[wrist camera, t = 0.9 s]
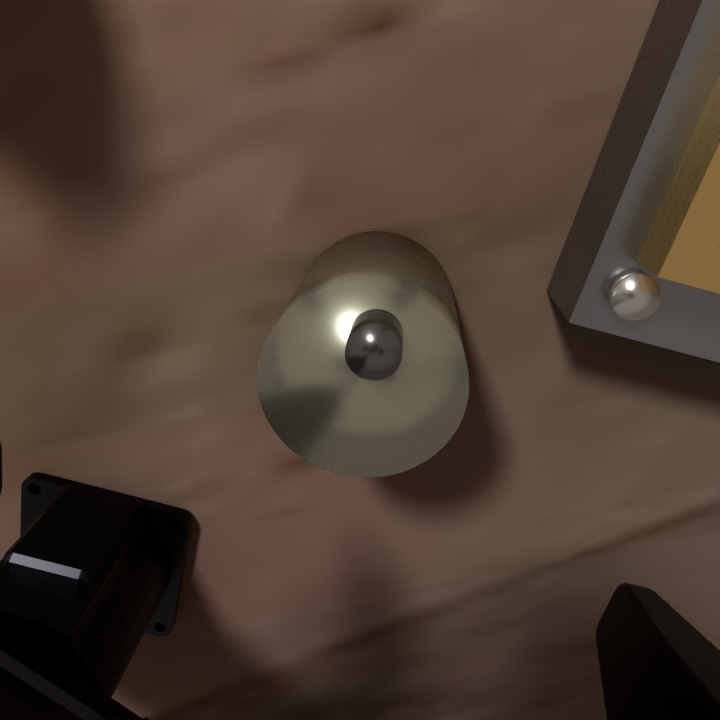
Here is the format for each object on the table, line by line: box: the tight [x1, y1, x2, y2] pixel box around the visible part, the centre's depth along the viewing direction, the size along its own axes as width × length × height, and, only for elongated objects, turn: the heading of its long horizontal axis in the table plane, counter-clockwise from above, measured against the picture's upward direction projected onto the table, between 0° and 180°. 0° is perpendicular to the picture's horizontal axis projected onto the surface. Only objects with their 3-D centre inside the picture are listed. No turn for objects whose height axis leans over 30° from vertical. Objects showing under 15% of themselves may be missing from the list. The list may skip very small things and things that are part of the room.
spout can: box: [257, 231, 469, 478], centre depth 16 cm, size 5×5×7 cm
